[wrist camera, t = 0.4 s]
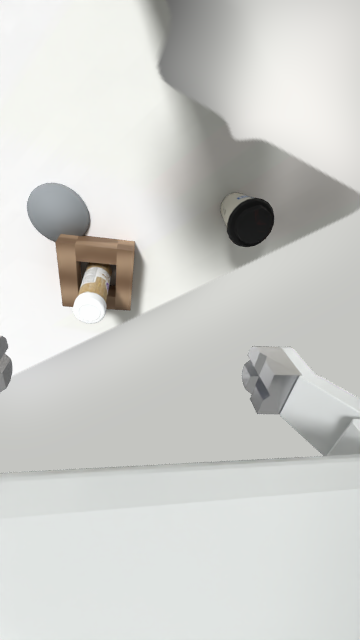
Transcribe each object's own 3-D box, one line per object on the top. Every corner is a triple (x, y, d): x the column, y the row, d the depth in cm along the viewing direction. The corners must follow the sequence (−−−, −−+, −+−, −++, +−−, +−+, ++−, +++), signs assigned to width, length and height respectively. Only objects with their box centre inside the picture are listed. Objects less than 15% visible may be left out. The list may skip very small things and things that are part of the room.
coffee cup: (233, 235, 48) (252, 259, 40) (205, 212, 44) (219, 233, 37) (262, 202, 45) (288, 221, 37) (233, 174, 41) (256, 189, 34)
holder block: (61, 233, 43) (55, 242, 40) (134, 241, 46) (134, 250, 43) (67, 294, 51) (62, 306, 47) (130, 298, 53) (130, 310, 50)
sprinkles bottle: (116, 276, 50) (110, 320, 39) (93, 282, 50) (81, 328, 39) (105, 254, 47) (96, 295, 36) (81, 261, 47) (66, 304, 37)
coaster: (22, 178, 38) (22, 178, 38) (88, 188, 40) (87, 188, 40) (33, 238, 43) (32, 239, 43) (89, 244, 45) (89, 245, 45)
